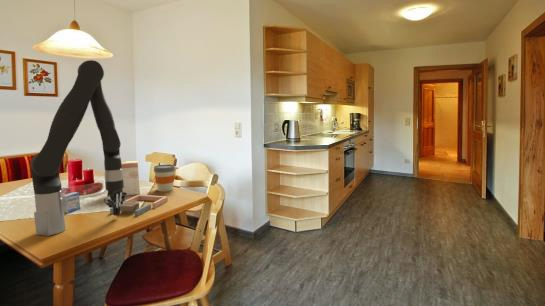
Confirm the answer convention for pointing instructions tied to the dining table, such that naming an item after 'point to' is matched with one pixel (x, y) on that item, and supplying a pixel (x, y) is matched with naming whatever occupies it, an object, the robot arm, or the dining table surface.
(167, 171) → the reusable coffee cup
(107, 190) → the robot arm
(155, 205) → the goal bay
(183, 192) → the dining table surface
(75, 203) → the medicine box
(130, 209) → the walnut block
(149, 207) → the channel
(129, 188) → the coffeecake box
